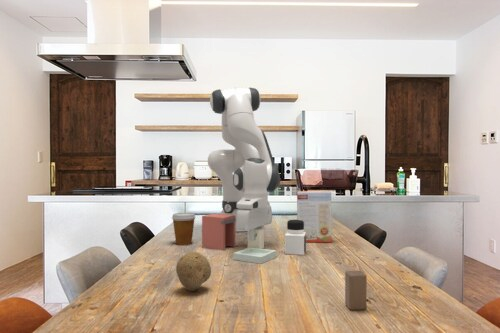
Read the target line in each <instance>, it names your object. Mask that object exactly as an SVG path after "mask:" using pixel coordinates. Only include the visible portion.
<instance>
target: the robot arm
mask: <svg viewBox="0 0 500 333" xmlns="http://www.w3.org/2000/svg"><path fill="white" fill-rule="evenodd" d="M261 100H262V99H261V94H260V92H259V90H258V89H257V88H254V87H233V88H232V87H230V88H225V89H216V90H214V91H212V92H211V95H210V98H209V103H210V104H209V105H210V108H211V109H212V111H213V113H215V114H218V115H219V114H220V115H221V136H222V137H221V138H222V140H223V141H224V142H225V143H227V144H228V145H231V146H232V147H234V149H217V150H213V151H211V152H210V153H209V155H208V157H207V165H208V167H209V169H210V170H211V171H212V172H214V173H215V174H216V176H218V178H219V180H220V182H221V187H222V201H221V202H222V203H221V208H222V210H221V211H220V214H226V215H235V218H236V222H235V233H236V232H247V235H248V234H249V240H250V241H254V240H255V235H254V232H253V231H254V228H261V229H264V230H265V226H267V225H270V224H273V223H272V222H273V212H272V210H273V209H272V206H271V205H270V202H269V200H268V195H269V193H273V192H275V191H276V190H277V188H278V187H279V186H280V185H281V176H280V172H279V170H278V168H277V165H276V164H275V160H274V158H273V154H272V152H271V148H270V145H269V142H268V140H267V136H266V134H265V132H264V131H263V130H262V129H261V128H260V127H259V126H258V124H257V123H256V120H255V115H254V112H255V111H257V110H258V109H259V108H260V105H261ZM253 147H254V148H255V149H256V150H255V149H254V148H253Z"/></svg>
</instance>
